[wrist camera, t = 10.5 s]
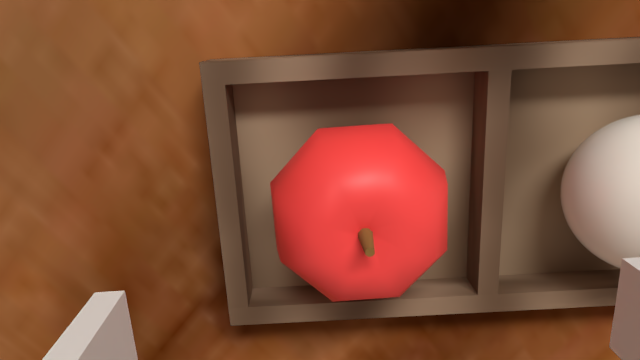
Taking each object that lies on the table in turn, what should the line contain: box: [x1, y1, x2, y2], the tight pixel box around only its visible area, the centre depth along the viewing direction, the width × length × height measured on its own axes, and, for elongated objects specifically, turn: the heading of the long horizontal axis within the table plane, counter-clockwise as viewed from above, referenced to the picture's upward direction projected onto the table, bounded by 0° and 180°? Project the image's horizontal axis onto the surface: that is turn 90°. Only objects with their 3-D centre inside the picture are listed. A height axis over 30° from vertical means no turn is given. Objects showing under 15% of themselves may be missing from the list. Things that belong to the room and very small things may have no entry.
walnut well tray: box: [199, 37, 640, 326], centre depth 24 cm, size 26×13×2 cm, turn 93°
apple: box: [270, 123, 448, 302], centre depth 21 cm, size 8×8×8 cm
